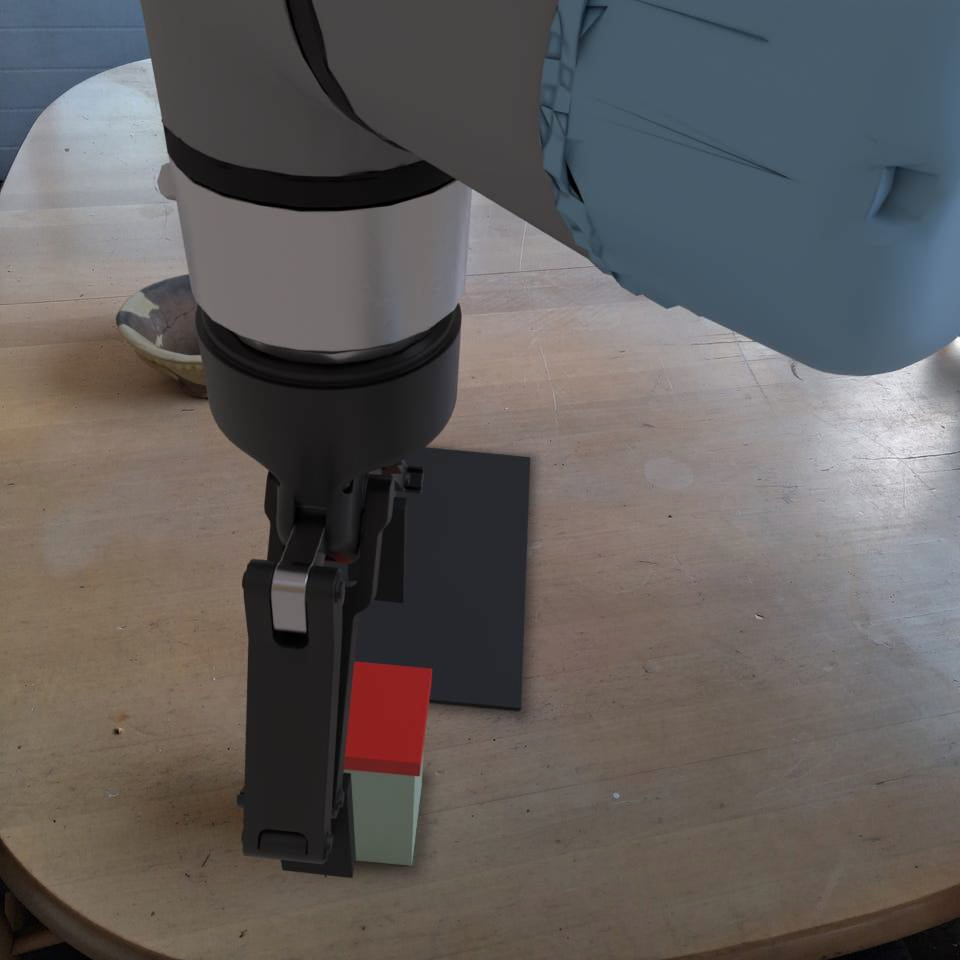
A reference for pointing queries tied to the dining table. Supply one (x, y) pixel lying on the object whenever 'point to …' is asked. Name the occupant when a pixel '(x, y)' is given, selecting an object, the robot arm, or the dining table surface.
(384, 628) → the mat
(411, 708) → the container
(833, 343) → the robot arm
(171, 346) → the bowl
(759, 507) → the dining table surface
